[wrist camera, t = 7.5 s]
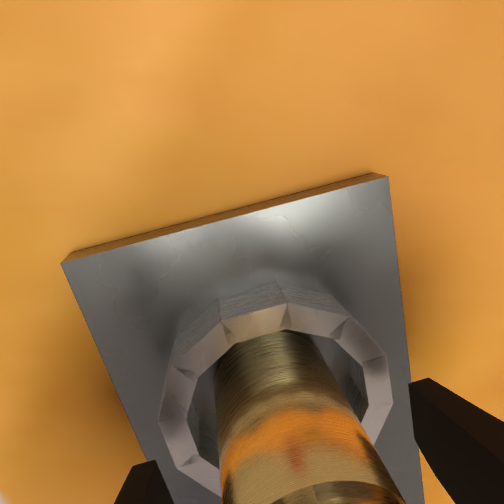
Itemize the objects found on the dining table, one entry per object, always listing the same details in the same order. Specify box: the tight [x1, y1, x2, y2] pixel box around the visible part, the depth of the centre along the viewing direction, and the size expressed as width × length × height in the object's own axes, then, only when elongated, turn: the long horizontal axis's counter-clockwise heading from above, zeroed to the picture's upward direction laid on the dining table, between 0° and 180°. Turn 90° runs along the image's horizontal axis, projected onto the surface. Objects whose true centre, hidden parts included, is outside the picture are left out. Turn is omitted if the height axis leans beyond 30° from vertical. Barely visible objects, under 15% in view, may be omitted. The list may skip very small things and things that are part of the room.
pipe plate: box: [60, 173, 425, 504], centre depth 14 cm, size 18×10×2 cm, turn 13°
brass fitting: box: [214, 331, 406, 504], centre depth 10 cm, size 4×4×7 cm
